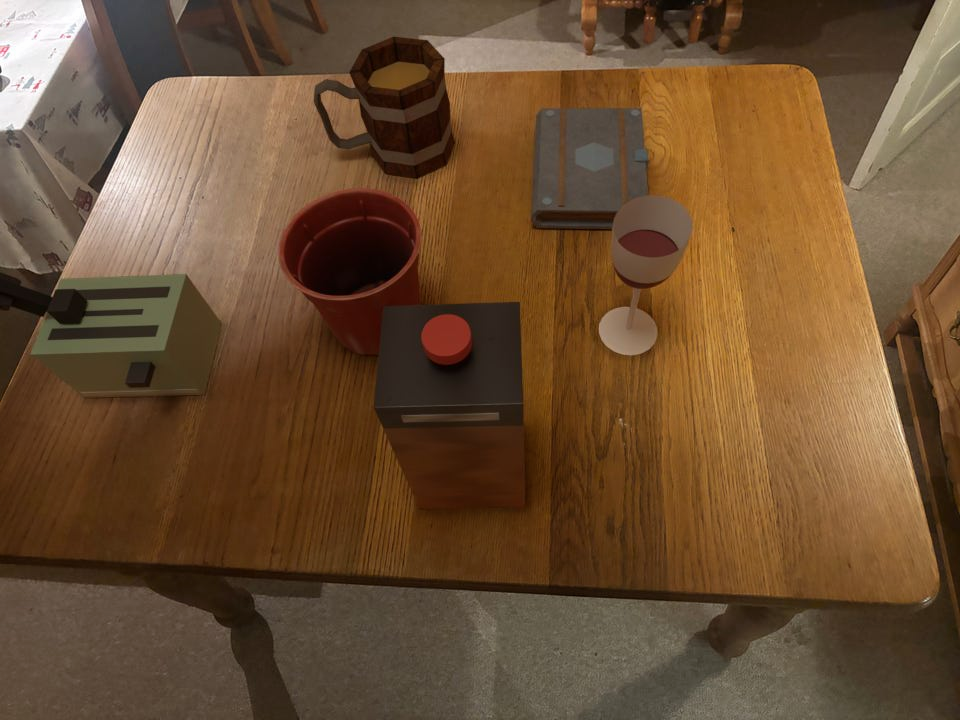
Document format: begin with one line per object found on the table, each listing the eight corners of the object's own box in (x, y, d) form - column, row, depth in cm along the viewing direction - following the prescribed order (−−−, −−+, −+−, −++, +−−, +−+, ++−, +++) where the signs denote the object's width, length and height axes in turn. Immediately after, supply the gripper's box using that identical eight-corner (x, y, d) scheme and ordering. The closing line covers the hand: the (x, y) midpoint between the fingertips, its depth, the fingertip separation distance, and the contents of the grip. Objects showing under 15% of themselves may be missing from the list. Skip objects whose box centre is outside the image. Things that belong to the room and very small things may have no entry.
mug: (450, 114, 109) (439, 29, 96) (460, 172, 102) (450, 89, 89) (332, 131, 109) (306, 48, 96) (334, 190, 102) (305, 110, 89)
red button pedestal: (419, 510, 75) (373, 409, 53) (423, 429, 80) (383, 305, 58) (524, 508, 74) (523, 405, 52) (522, 426, 80) (519, 301, 57)
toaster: (77, 417, 84) (20, 375, 75) (109, 327, 91) (60, 278, 82) (200, 414, 83) (157, 371, 74) (222, 323, 90) (186, 273, 81)
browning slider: (60, 324, 78) (46, 311, 75) (68, 302, 79) (55, 289, 77) (79, 323, 78) (66, 311, 75) (87, 301, 79) (75, 288, 77)
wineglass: (584, 340, 85) (597, 237, 68) (617, 294, 89) (638, 184, 71) (639, 369, 83) (668, 269, 65) (671, 320, 86) (706, 213, 69)
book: (535, 129, 106) (536, 103, 101) (640, 129, 104) (645, 103, 100) (531, 229, 95) (531, 205, 91) (647, 231, 94) (653, 206, 89)
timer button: (422, 365, 53) (420, 356, 52) (424, 324, 55) (422, 314, 54) (472, 364, 53) (470, 355, 52) (472, 322, 55) (471, 313, 54)
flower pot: (306, 371, 85) (264, 299, 72) (327, 270, 94) (292, 188, 80) (432, 372, 84) (413, 299, 70) (442, 270, 92) (427, 186, 79)
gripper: (-190, 187, 70) (58, 277, 83) (-260, 286, 63) (22, 367, 77) (-190, 145, 65) (73, 248, 78) (-266, 247, 58) (36, 341, 72)
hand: (48, 307), depth 78 cm, fingers closed
